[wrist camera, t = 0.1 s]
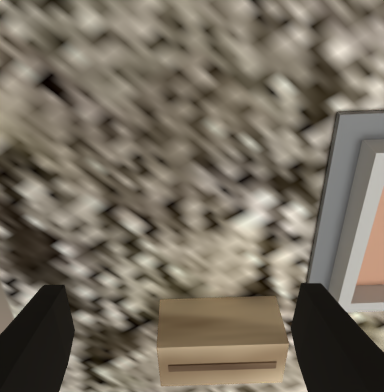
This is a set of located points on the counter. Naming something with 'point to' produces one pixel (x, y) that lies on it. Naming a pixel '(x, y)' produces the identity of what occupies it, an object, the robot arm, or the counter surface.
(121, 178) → the counter surface
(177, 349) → the maple block
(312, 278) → the board
